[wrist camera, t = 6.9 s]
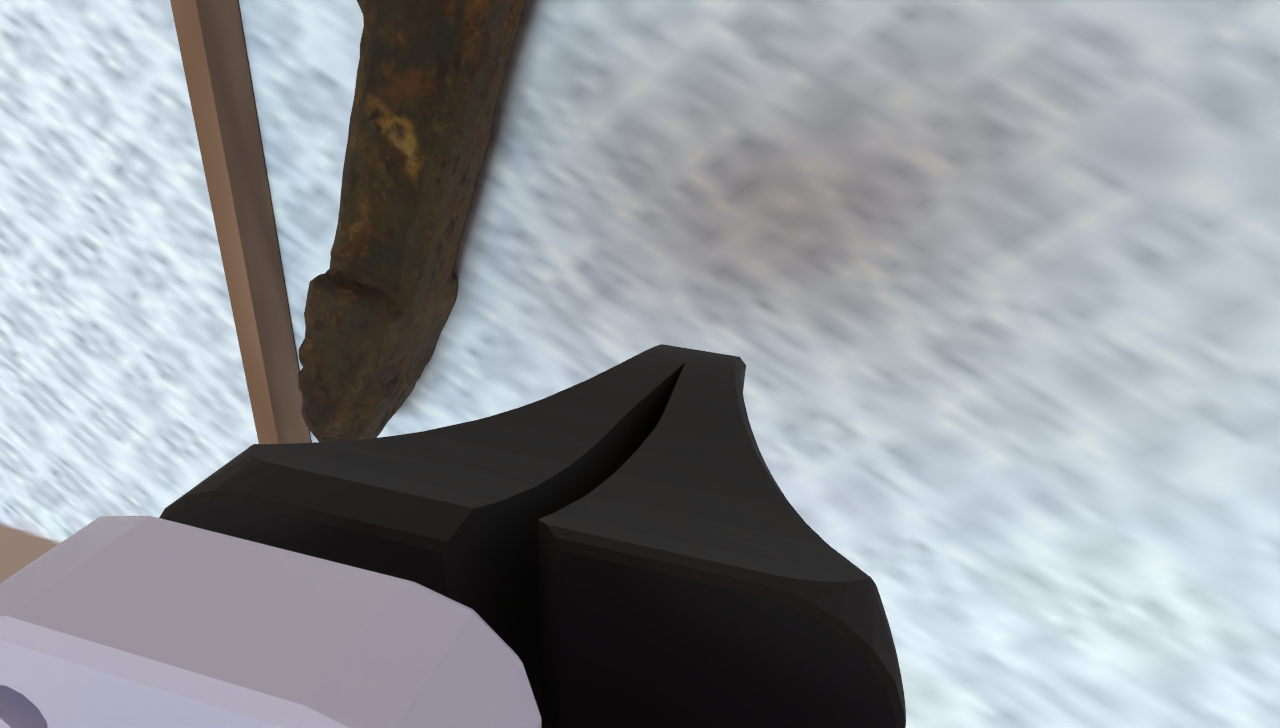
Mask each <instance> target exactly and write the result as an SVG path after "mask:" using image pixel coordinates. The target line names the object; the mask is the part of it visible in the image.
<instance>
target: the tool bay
mask: <svg viewBox="0 0 1280 728" xmlns="http://www.w3.org/2000/svg"><path fill="white" fill-rule="evenodd" d="M170 1H171V6H172V11H173V16H174V21H175V26H176V31H177V36H178V41H179V46H180V51H181V56H182V61H183V66H184V71H185V76H186V81H187V86H188V91H189V96H190V101H191V106H192V111H193V116H194V121H195V126H196V131H197V136H198V141H199V146H200V151H201V156H202V161H203V166H204V171H205V176H206V181H207V186H208V191H209V196H210V201H211V206H212V211H213V216H214V221H215V226H216V231H217V236H218V241H219V246H220V251H221V256H222V261H223V266H224V271H225V276H226V281H227V286H228V291H229V296H230V301H231V306H232V311H233V316H234V321H235V326H236V331H237V336H238V341H239V346H240V351H241V356H242V361H243V366H244V371H245V376H246V381H247V386H248V391H249V396H250V401H251V406H252V411H253V416H254V421H255V426H256V431H257V436H258V441H259V444H291V443H311V440H310V434H309V429H308V427H307V425H306V423H305V421H304V418H303V416H302V414H301V409H302V393H301V391H300V390H299V388H298V374H299V368H298V362H297V356H296V350H295V344H294V338H293V331H292V325H291V319H290V313H289V307H288V301H287V295H286V289H285V283H284V277H283V271H282V265H281V259H280V253H279V247H278V241H277V235H276V229H275V223H274V217H273V211H272V205H271V199H270V193H269V187H268V181H267V175H266V169H265V163H264V157H263V151H262V145H261V138H260V132H259V126H258V120H257V114H256V108H255V102H254V96H253V90H252V84H251V78H250V72H249V66H248V60H247V54H246V48H245V42H244V36H243V30H242V24H241V18H240V12H239V6H238V0H170Z"/></svg>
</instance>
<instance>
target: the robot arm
mask: <svg viewBox="0 0 1280 728" xmlns="http://www.w3.org/2000/svg"><path fill="white" fill-rule="evenodd" d="M745 369H746V365H745V363H744V362H743V361H742V359H741V358H740V357H737V356H731V355H724V354H718V353H712V352H706V351H700V350H693V349H687V348H681V347H675V346H668V345H662V344H661V345H658V346H655V347H653V348H651V349H648V350H646V351H644V352H642V353H640V354H638V355H636V356H634V357H632V358H630V359H628V360H627V361H625V362H623V363H621V364H619V365H617V366H615V367H613V368H611V369H609V370H607V371H605V372H603V373H601V374H599V375H597V376H595V377H593V378H591V379H588V380H586V381H584V382H582V383H579V384H577V385H575V386H572V387H570V388H568V389H565V390H563V391H561V392H558V393H556V394H554V395H551V396H549V397H547V398H544V399H542V400H539V401H537V402H534V403H531V404H528V405H525V406H523V407H520V408H517V409H513V410H510V411H507V412H504V413H500V414H497V415H494V416H490V417H487V418H483V419H479V420H475V421H470V422H466V423H461V424H456V425H452V426H447V427H442V428H438V429H433V430H428V431H423V432H417V433H411V434H404V435H397V436H390V437H381V438H372V439H362V440H352V441H339V442H318V443H291V444H254V445H252V446H250V447H249V448H248V449H246V450H245V451H244V452H242V453H241V454H239V455H238V456H237V457H235V458H234V459H233V460H231V461H230V462H228V463H227V464H226V465H224V466H223V467H222V468H220V469H219V470H217V471H216V472H215V473H213V474H212V475H211V476H209V477H208V478H206V479H205V480H204V481H202V482H201V483H200V484H198V485H197V486H195V487H194V488H193V489H191V490H190V491H189V492H187V493H186V494H184V495H183V496H182V497H180V498H179V499H178V500H176V501H175V502H173V503H172V504H171V505H169V506H168V507H167V508H165V509H164V511H163V513H162V514H161V516H160V517H159V518H156V517H152V516H110V517H99V518H97V519H96V520H94V521H93V522H91V523H90V524H88V525H87V526H85V527H84V528H82V529H81V530H79V531H78V532H76V533H75V534H74V535H72V536H71V537H69V538H68V539H66V540H65V541H63V542H62V543H60V544H59V545H57V546H56V547H54V548H53V549H51V550H50V551H48V552H47V553H45V554H44V555H42V556H41V557H39V558H38V559H36V560H35V561H33V562H32V563H30V564H29V565H27V566H26V567H24V568H23V569H21V570H20V571H18V572H17V573H15V574H14V575H12V576H11V577H9V578H8V579H6V580H5V581H3V582H2V583H0V728H905V726H906V709H905V699H904V691H903V685H902V679H901V673H900V668H899V663H898V658H897V653H896V649H895V645H894V642H893V638H892V634H891V630H890V627H889V623H888V620H887V617H886V614H885V610H884V607H883V604H882V601H881V598H880V595H879V592H878V589H877V586H876V584H875V583H874V581H873V580H872V578H871V577H869V576H868V575H867V574H866V573H864V572H863V571H862V570H860V569H859V568H858V567H856V566H855V565H854V564H852V563H851V562H850V561H849V560H847V559H846V558H845V557H843V556H842V555H841V554H839V553H838V552H837V551H836V550H834V549H833V548H832V547H830V546H829V545H828V544H827V543H826V542H825V541H824V540H823V539H822V538H821V537H820V536H819V535H818V534H817V533H815V532H814V531H813V530H812V529H811V528H810V527H809V526H808V525H807V524H806V523H805V522H804V520H803V519H802V518H801V517H800V515H799V514H798V513H797V512H796V511H795V509H794V508H793V507H792V506H791V504H790V503H789V502H788V500H787V499H786V498H785V496H784V494H783V493H782V491H781V490H780V488H779V487H778V485H777V483H776V482H775V480H774V478H773V477H772V475H771V473H770V471H769V469H768V467H767V466H766V464H765V461H764V459H763V457H762V455H761V453H760V450H759V448H758V446H757V443H756V440H755V438H754V435H753V432H752V429H751V426H750V423H749V420H748V416H747V412H746V407H745V403H744V398H743V386H744V378H745Z"/></svg>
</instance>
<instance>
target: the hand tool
mask: <svg viewBox="0 0 1280 728" xmlns="http://www.w3.org/2000/svg"><path fill="white" fill-rule="evenodd" d="M357 2H358V4H359V6H360V8H361V11H362V13H363V17H364V28H363V33H362V38H361V43H360V60H359V65H358V70H357V79H356V87H355V96H354V102H353V107H352V112H351V117H350V125H349V134H348V143H347V149H346V155H345V161H344V168H343V178H342V188H341V200H340V210H339V218H338V225H337V230H336V235H335V240H334V244H333V247H332V250H331V262H330V269H329V270H328V271H327V272H326V273H325V274H321V275H318V276H317V277H316V278H314V279H313V280H312V281H310V284H309V289H308V294H307V301H306V307H305V312H304V316H305V324H306V331H305V339H304V341H303V343H302V344H301V346H300V348H299V359H300V362H301V364H302V366H303V368H302V370H301V371H300V372H299V374H298V388H299V390H300V391H301V393H302V409H301V414H302V416H303V418H304V421H305V423H306V425H307V427H308V429H309V430H310V431H311V432H312V434H313V435H314V436H315V437H316V438H317V440H318V441H319V442H339V441H352V440H362V439H372V438H377V436H378V435H379V434H380V433H381V431H382V430H383V428H384V427H385V425H386V423H387V422H388V421H389V420H390V419H391V417H392V416H393V415H394V414H395V413H396V412H397V410H398V409H399V408H400V407H401V405H402V404H403V402H404V401H405V400H406V398H407V397H408V396H409V394H410V393H411V391H412V389H413V387H414V385H415V383H416V381H417V380H418V379H419V378H420V376H421V373H422V371H423V369H424V367H425V365H426V364H427V363H428V362H429V361H430V358H431V356H432V354H433V351H434V349H435V344H436V341H437V339H438V336H439V334H440V332H441V330H442V329H443V327H444V325H445V322H446V320H447V318H448V315H449V313H450V311H451V309H452V307H453V305H454V303H455V300H456V296H457V288H458V278H457V277H456V275H455V274H454V273H453V272H452V269H453V266H454V262H455V259H456V254H457V249H458V245H459V242H460V238H461V235H462V231H463V228H464V225H465V221H466V218H467V215H468V212H469V208H470V204H471V200H472V197H473V193H474V188H475V184H476V180H477V176H478V172H479V169H480V167H481V165H482V163H483V160H484V157H485V154H486V151H487V148H488V144H489V140H490V137H491V129H492V120H493V115H494V110H495V105H496V102H497V98H498V95H499V91H500V88H501V84H502V80H503V76H504V71H505V66H506V64H507V61H508V58H509V56H510V53H511V50H512V48H513V44H514V38H515V35H516V32H517V28H518V25H519V22H520V18H521V15H522V12H523V8H524V5H525V2H526V0H357Z"/></svg>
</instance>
